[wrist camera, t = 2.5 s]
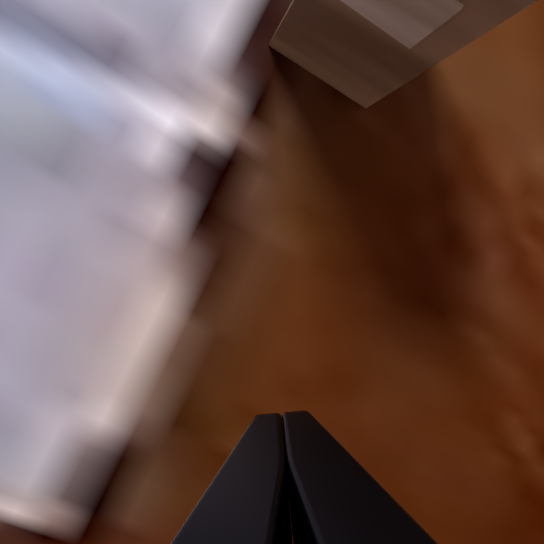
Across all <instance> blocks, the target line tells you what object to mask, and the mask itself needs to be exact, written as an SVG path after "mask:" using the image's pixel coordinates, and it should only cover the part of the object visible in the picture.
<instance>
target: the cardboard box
mask: <svg viewBox="0 0 544 544" xmlns="http://www.w3.org/2000/svg"><path fill="white" fill-rule="evenodd" d="M535 1H537V0H292V2H291V4H290V6H289V8H288V10H287V11H286V13H285V15H284V17H283V19H282V21H281V23H280V25H279V27H278V28H277V30H276V32H275V34H274V36H273V38H272V40H271V42H270V43H269V46H270V47H272V48H273V49H275V50H276V51H278V52H279V53H281V54H282V55H284V56H285V57H287V58H289V59H290V60H292V61H293V62H295V63H296V64H298V65H299V66H301V67H302V68H304V69H305V70H307V71H309V72H310V73H312V74H313V75H315V76H316V77H318V78H319V79H321V80H322V81H324V82H325V83H327V84H329V85H330V86H332V87H333V88H335V89H336V90H338V91H339V92H341V93H342V94H344V95H345V96H347V97H349V98H350V99H352V100H353V101H355V102H356V103H358V104H359V105H361V106H362V107H364V108H365V109H366V108H368V107H369V106H371V105H372V104H374V103H376V102H377V101H379V100H380V99H382V98H383V97H385V96H387V95H388V94H390V93H391V92H393V91H395V90H396V89H398V88H399V87H401V86H402V85H404V84H406V83H407V82H409V81H410V80H412V79H414V78H415V77H417V76H418V75H420V74H421V73H423V72H425V71H426V70H428V69H429V68H431V67H432V66H434V65H436V64H437V63H439V62H440V61H442V60H444V59H445V58H447V57H448V56H450V55H451V54H453V53H455V52H456V51H458V50H459V49H461V48H463V47H464V46H466V45H467V44H469V43H470V42H472V41H474V40H475V39H477V38H478V37H480V36H482V35H483V34H485V33H486V32H488V31H489V30H491V29H493V28H494V27H496V26H497V25H499V24H501V23H502V22H504V21H505V20H507V19H508V18H510V17H512V16H513V15H515V14H516V13H518V12H520V11H521V10H523V9H524V8H526V7H527V6H529V5H531V4H532V3H534V2H535Z"/></svg>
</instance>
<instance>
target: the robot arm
mask: <svg viewBox="0 0 544 544" xmlns="http://www.w3.org/2000/svg"><path fill="white" fill-rule="evenodd" d="M282 424H283V427H282ZM283 435H284V437H283ZM284 447H285V448H284ZM287 481H288V482H287ZM288 491H289V493H288ZM289 502H290V505H289ZM290 513H291V517H290ZM291 524H292V528H291ZM292 535H293V541H292ZM171 544H437V543H436V542H435V541H434V540H433V539H432V538H431V537H430V536H429V535H428V534H427V533H426V531H425V530H424V529H423V528H422V527H421V526H420V525H419V524H418V523H417V522H416V521H415V520H414V519H413V518H412V517H411V516H410V515H409V514H408V513H407V512H406V511H405V510H404V509H403V508H402V507H401V506H400V505H399V504H398V503H397V502H396V501H395V500H394V499H393V498H392V497H391V496H390V495H389V494H388V493H387V492H386V491H385V490H384V489H383V488H382V487H381V486H380V485H379V483H378V482H377V481H376V480H375V479H374V478H373V477H372V476H371V475H370V474H369V473H368V472H367V471H366V470H365V469H364V468H363V467H362V466H361V465H360V464H359V463H358V462H357V461H356V460H355V459H354V458H353V457H352V456H351V455H350V454H349V453H348V452H347V451H346V450H345V449H344V448H343V447H342V446H341V445H340V444H339V443H338V442H337V441H336V440H335V439H334V438H333V437H332V435H331V434H330V433H329V432H328V431H327V430H326V429H325V428H324V427H323V426H322V425H321V424H320V423H319V422H318V421H317V420H316V419H315V418H314V417H313V416H312V415H311V414H310V413H309V412H307V411H293V412H285V413H284V414H283V415H282V417H281V415H280V414H278V413H271V414H260V415H256V416H255V417H254V418H253V420H252V421H251V423H250V425H249V426H248V428H247V429H246V431H245V432H244V434H243V435H242V437H241V438H240V440H239V441H238V443H237V444H236V446H235V447H234V449H233V450H232V452H231V453H230V455H229V456H228V458H227V459H226V461H225V462H224V464H223V465H222V467H221V468H220V470H219V471H218V473H217V474H216V476H215V477H214V479H213V480H212V482H211V483H210V485H209V486H208V488H207V489H206V491H205V492H204V494H203V495H202V497H201V498H200V500H199V501H198V503H197V504H196V506H195V507H194V509H193V510H192V512H191V513H190V515H189V516H188V518H187V520H186V521H185V523H184V524H183V526H182V527H181V529H180V530H179V532H178V533H177V535H176V536H175V538H174V539H173V541H172V542H171Z"/></svg>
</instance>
